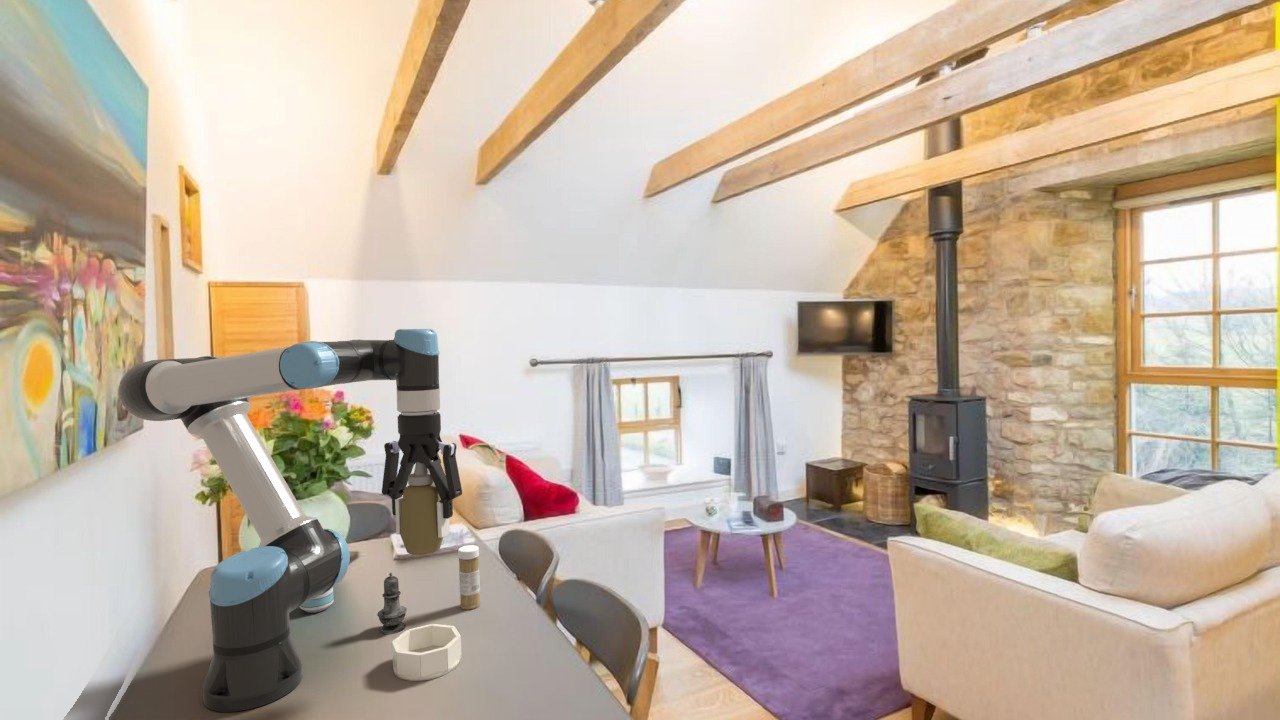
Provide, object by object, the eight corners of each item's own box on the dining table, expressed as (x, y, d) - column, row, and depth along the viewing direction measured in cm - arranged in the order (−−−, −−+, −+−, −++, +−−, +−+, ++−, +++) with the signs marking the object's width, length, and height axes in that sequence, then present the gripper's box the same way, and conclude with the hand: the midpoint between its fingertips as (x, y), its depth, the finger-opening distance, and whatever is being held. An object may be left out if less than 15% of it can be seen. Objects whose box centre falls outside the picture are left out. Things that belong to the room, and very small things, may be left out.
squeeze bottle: (392, 552, 120) (388, 456, 119) (430, 540, 126) (427, 449, 126) (416, 561, 115) (412, 461, 114) (455, 549, 121) (452, 453, 120)
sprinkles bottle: (475, 600, 150) (473, 543, 150) (484, 606, 147) (482, 548, 146) (456, 605, 147) (454, 547, 147) (464, 612, 144) (463, 552, 143)
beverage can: (331, 599, 152) (329, 549, 151) (335, 609, 146) (333, 557, 146) (298, 606, 148) (296, 555, 148) (301, 617, 143) (299, 564, 142)
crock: (400, 688, 114) (399, 661, 113) (388, 658, 124) (387, 634, 124) (468, 668, 120) (467, 643, 119) (451, 642, 130) (450, 618, 130)
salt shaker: (397, 635, 133) (395, 578, 133) (371, 633, 134) (369, 576, 134) (413, 623, 139) (411, 568, 138) (388, 621, 140) (386, 566, 140)
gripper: (480, 410, 120) (483, 531, 122) (382, 408, 126) (387, 524, 127) (459, 416, 113) (463, 544, 114) (356, 413, 118) (361, 536, 120)
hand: (423, 533), depth 121 cm, fingers closed on squeeze bottle, 8 cm apart
